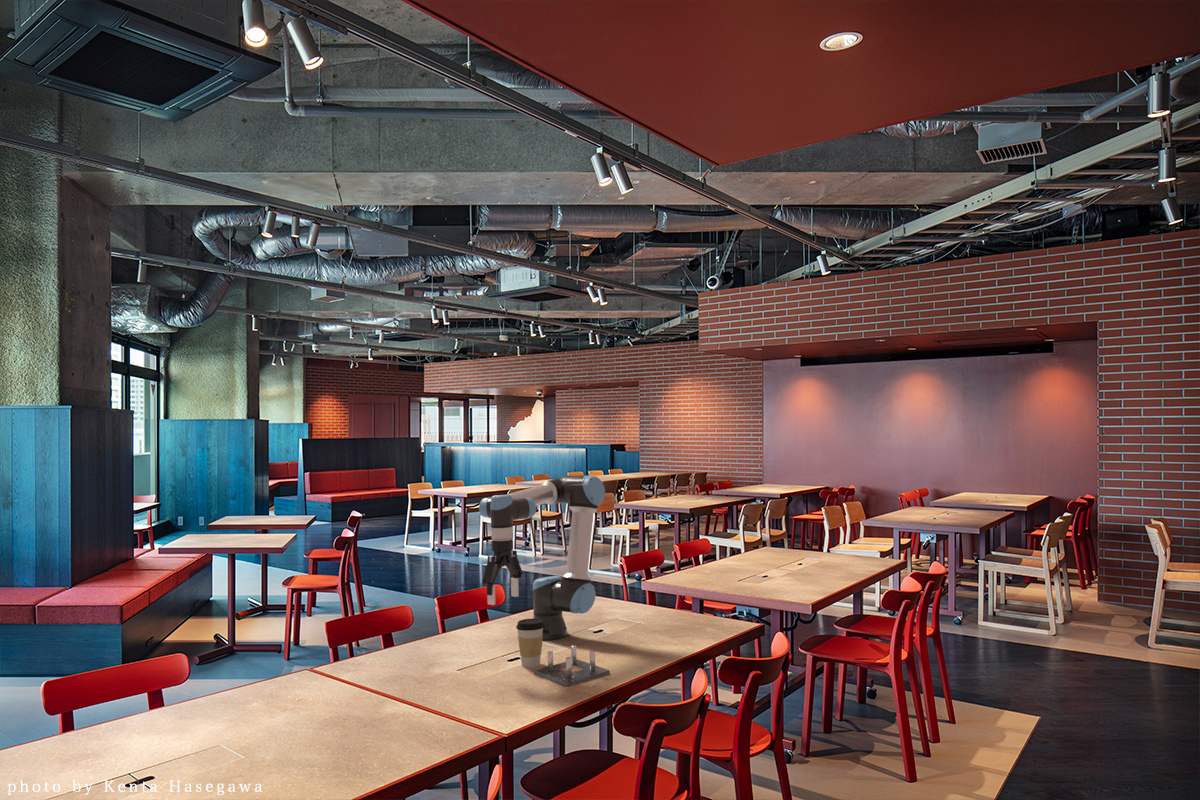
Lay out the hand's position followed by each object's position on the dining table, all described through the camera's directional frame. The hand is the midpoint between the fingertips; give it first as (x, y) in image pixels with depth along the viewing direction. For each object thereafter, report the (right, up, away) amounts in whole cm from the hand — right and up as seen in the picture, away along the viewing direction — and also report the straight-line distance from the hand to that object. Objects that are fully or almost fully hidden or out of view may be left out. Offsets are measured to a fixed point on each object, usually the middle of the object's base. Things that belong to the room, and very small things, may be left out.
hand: (503, 600), depth 254 cm
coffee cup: (+10, -23, -1) cm, 25 cm away
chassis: (+24, -21, -12) cm, 34 cm away
